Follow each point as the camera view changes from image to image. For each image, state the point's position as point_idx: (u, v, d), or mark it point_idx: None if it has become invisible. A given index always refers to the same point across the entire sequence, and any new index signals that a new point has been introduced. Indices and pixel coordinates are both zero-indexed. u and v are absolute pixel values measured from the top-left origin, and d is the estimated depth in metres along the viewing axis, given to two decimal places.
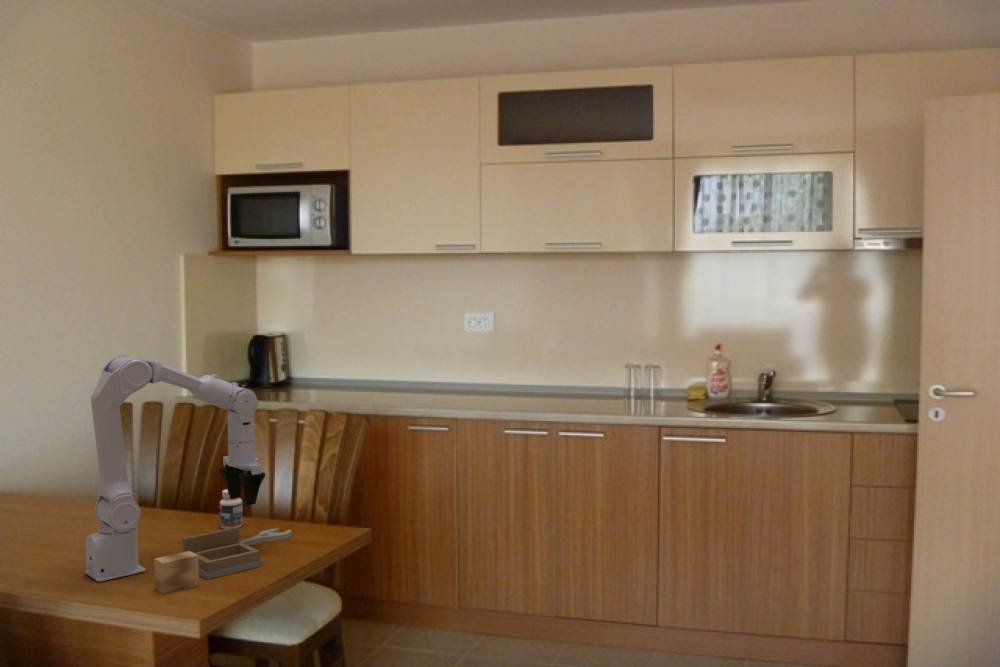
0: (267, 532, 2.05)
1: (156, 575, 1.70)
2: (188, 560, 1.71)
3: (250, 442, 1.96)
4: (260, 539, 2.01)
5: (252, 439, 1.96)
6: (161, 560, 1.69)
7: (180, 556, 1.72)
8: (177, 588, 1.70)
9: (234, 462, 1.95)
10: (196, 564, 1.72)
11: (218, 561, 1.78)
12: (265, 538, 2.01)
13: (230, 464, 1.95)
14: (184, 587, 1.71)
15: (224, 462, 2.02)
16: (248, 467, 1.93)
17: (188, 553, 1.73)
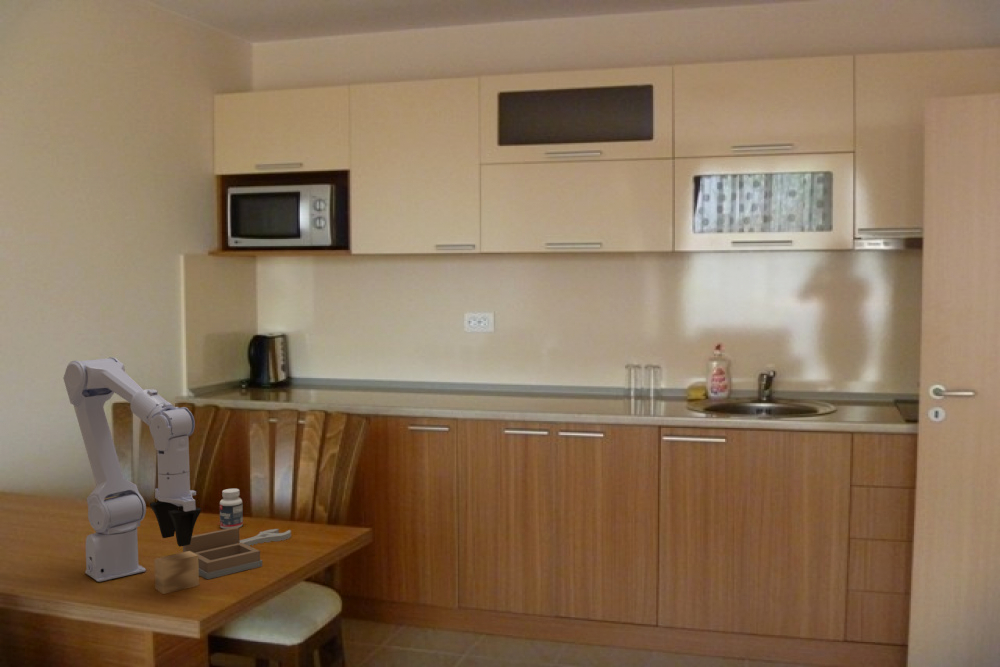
0: (267, 532, 2.04)
1: (156, 575, 1.70)
2: (188, 560, 1.71)
3: (183, 473, 1.69)
4: (259, 540, 2.00)
5: (168, 472, 1.68)
6: (161, 560, 1.69)
7: (180, 556, 1.72)
8: (177, 588, 1.70)
9: (164, 496, 1.68)
10: (196, 564, 1.72)
11: (218, 561, 1.78)
12: (264, 539, 2.01)
13: (160, 499, 1.68)
14: (184, 587, 1.71)
15: (156, 495, 1.75)
16: (180, 502, 1.66)
17: (188, 554, 1.73)
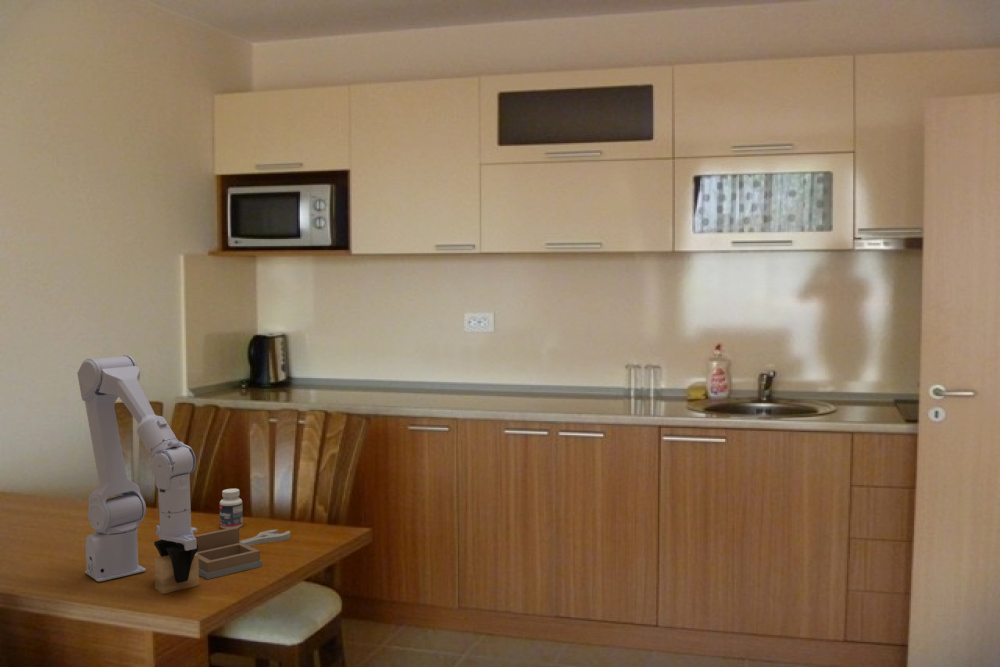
0: (266, 533, 2.04)
1: (156, 575, 1.70)
2: None
3: (184, 511, 1.70)
4: (259, 540, 2.00)
5: (169, 510, 1.68)
6: (161, 560, 1.69)
7: None
8: (177, 588, 1.70)
9: (166, 535, 1.68)
10: (196, 564, 1.72)
11: (218, 561, 1.78)
12: (264, 539, 2.00)
13: (161, 537, 1.69)
14: (184, 587, 1.71)
15: (157, 532, 1.75)
16: (181, 541, 1.66)
17: None
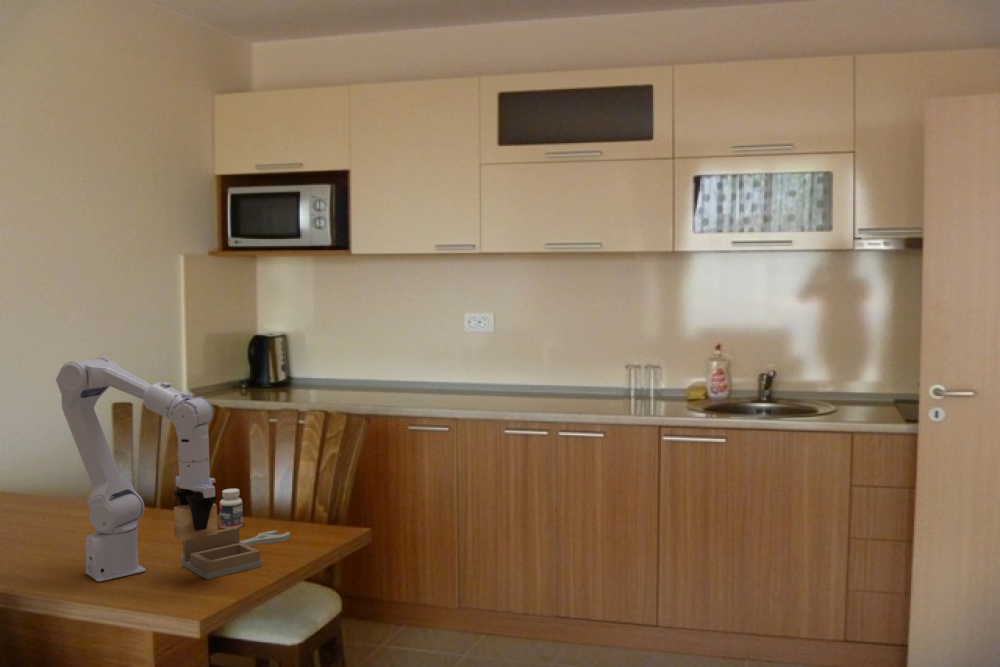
0: (265, 534, 2.03)
1: (176, 523, 1.74)
2: None
3: (203, 461, 1.74)
4: (257, 541, 1.99)
5: (193, 459, 1.72)
6: (180, 508, 1.73)
7: None
8: (196, 536, 1.74)
9: (185, 483, 1.72)
10: (214, 513, 1.76)
11: (218, 561, 1.78)
12: (262, 540, 2.00)
13: (181, 486, 1.73)
14: (203, 535, 1.75)
15: (176, 482, 1.80)
16: (200, 489, 1.70)
17: None
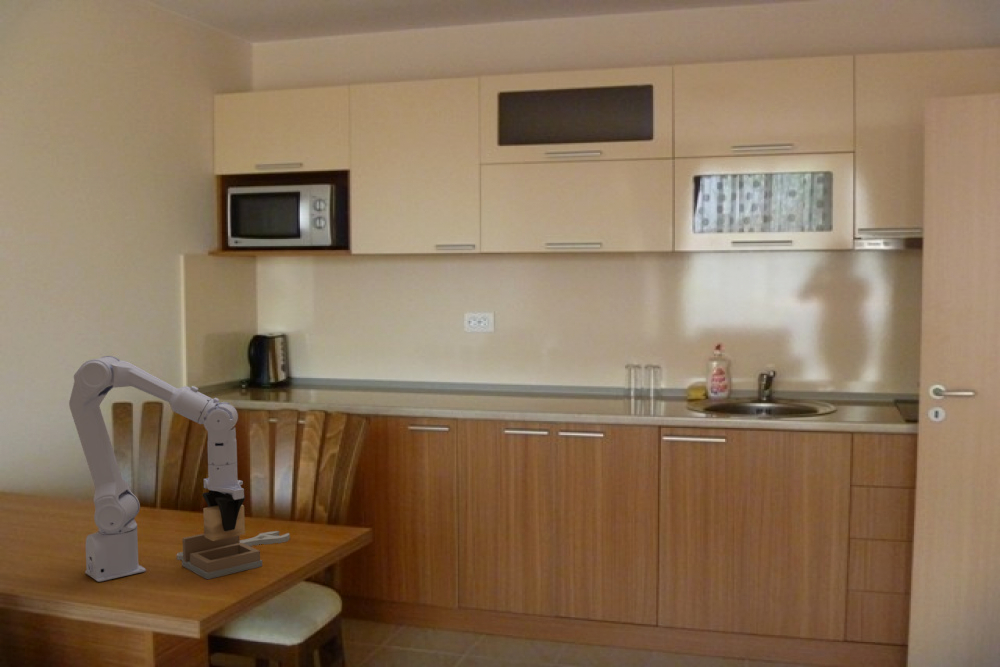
0: (265, 534, 2.03)
1: (205, 523, 1.81)
2: None
3: (232, 464, 1.81)
4: (255, 541, 1.99)
5: (227, 462, 1.80)
6: (210, 509, 1.80)
7: None
8: (225, 536, 1.81)
9: (214, 486, 1.79)
10: (242, 514, 1.83)
11: (218, 561, 1.78)
12: (260, 541, 1.99)
13: (210, 488, 1.80)
14: (231, 535, 1.82)
15: (205, 485, 1.87)
16: (229, 491, 1.77)
17: None
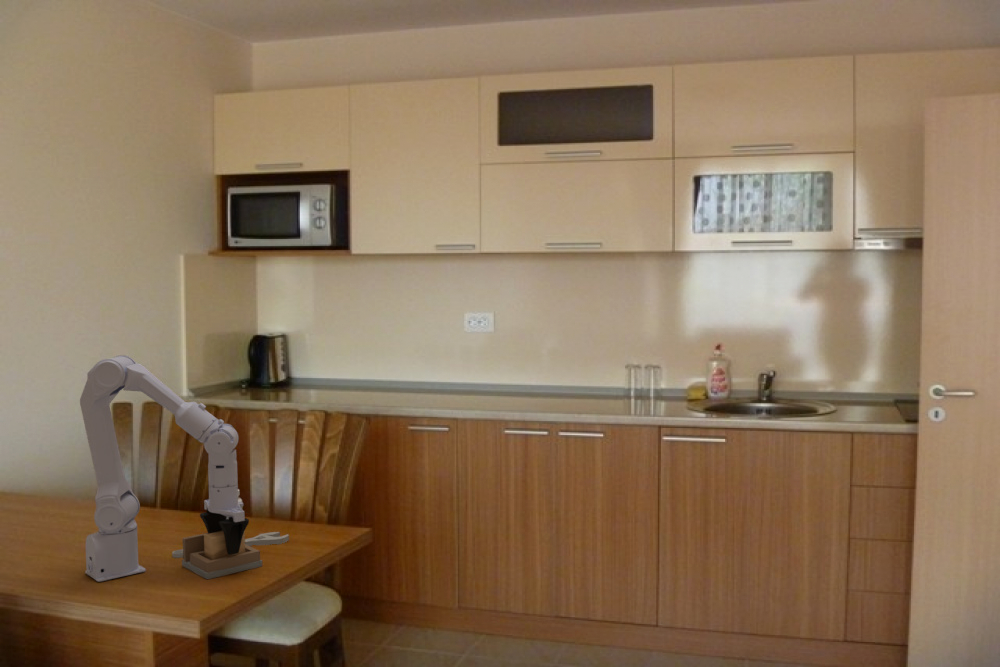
0: (265, 535, 2.02)
1: (206, 550, 1.81)
2: None
3: (232, 486, 1.81)
4: (252, 542, 1.98)
5: (228, 484, 1.80)
6: (210, 536, 1.81)
7: None
8: None
9: (215, 508, 1.80)
10: (243, 540, 1.83)
11: (218, 561, 1.78)
12: (258, 541, 1.99)
13: (211, 510, 1.80)
14: None
15: (205, 506, 1.87)
16: (230, 514, 1.78)
17: None
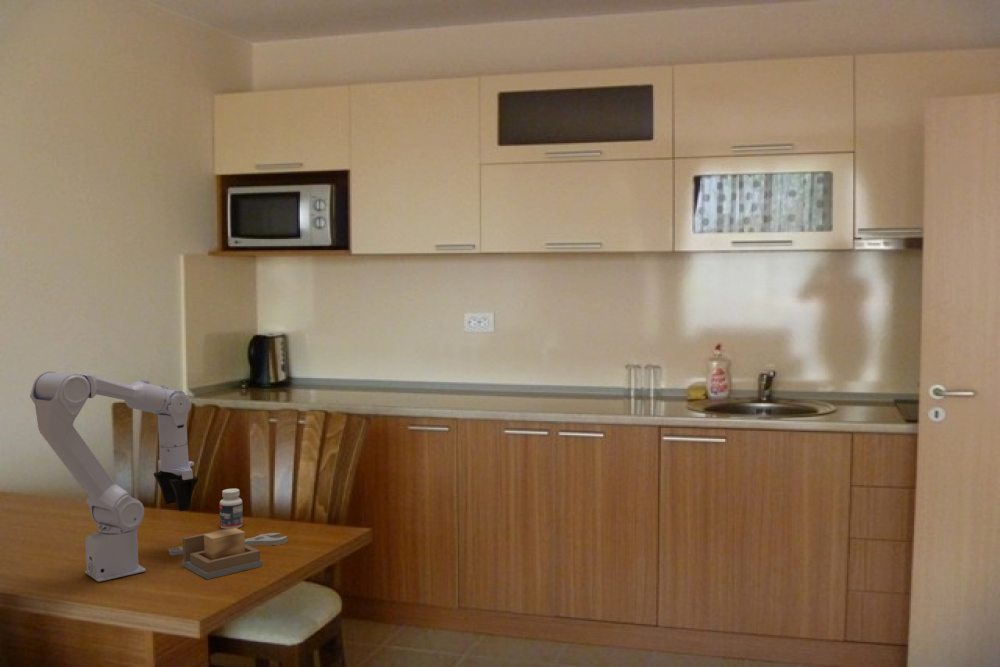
0: (264, 536, 2.02)
1: (206, 550, 1.81)
2: (236, 536, 1.82)
3: (182, 446, 1.90)
4: (250, 542, 1.98)
5: (186, 442, 1.91)
6: (210, 536, 1.81)
7: (227, 533, 1.83)
8: None
9: (165, 467, 1.89)
10: (243, 540, 1.83)
11: (218, 561, 1.78)
12: (255, 542, 1.98)
13: (162, 469, 1.89)
14: None
15: (159, 466, 1.96)
16: (179, 472, 1.87)
17: (235, 530, 1.85)
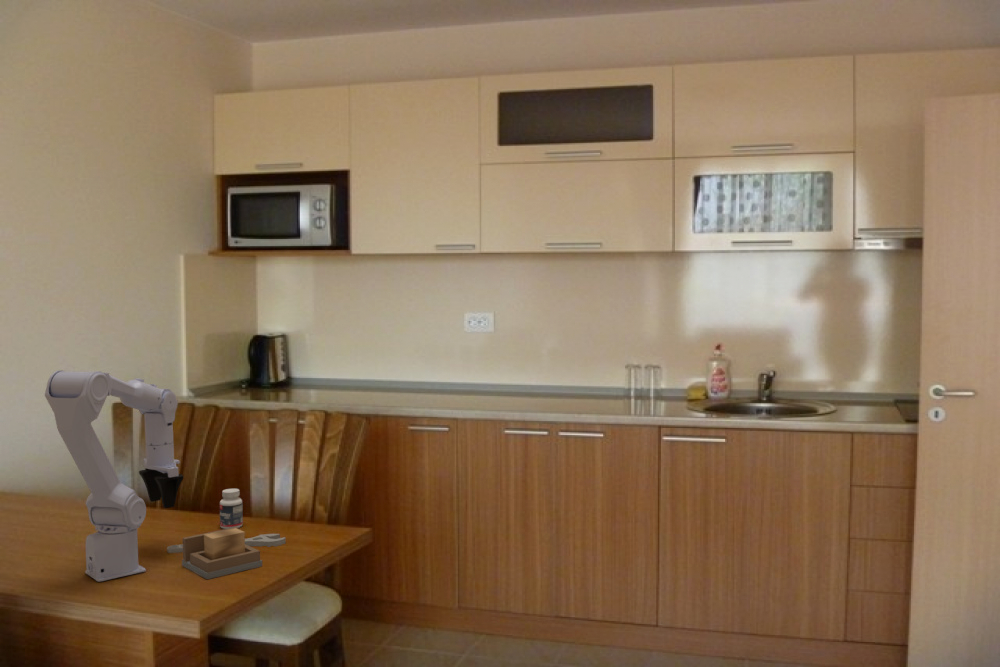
0: (263, 536, 2.01)
1: (206, 550, 1.81)
2: (236, 536, 1.82)
3: (168, 444, 1.92)
4: (247, 542, 1.98)
5: None
6: (210, 536, 1.81)
7: (227, 533, 1.83)
8: None
9: (151, 464, 1.91)
10: (243, 540, 1.83)
11: (218, 561, 1.78)
12: (252, 542, 1.98)
13: (147, 466, 1.92)
14: None
15: (144, 464, 1.98)
16: (165, 470, 1.89)
17: (235, 530, 1.85)
